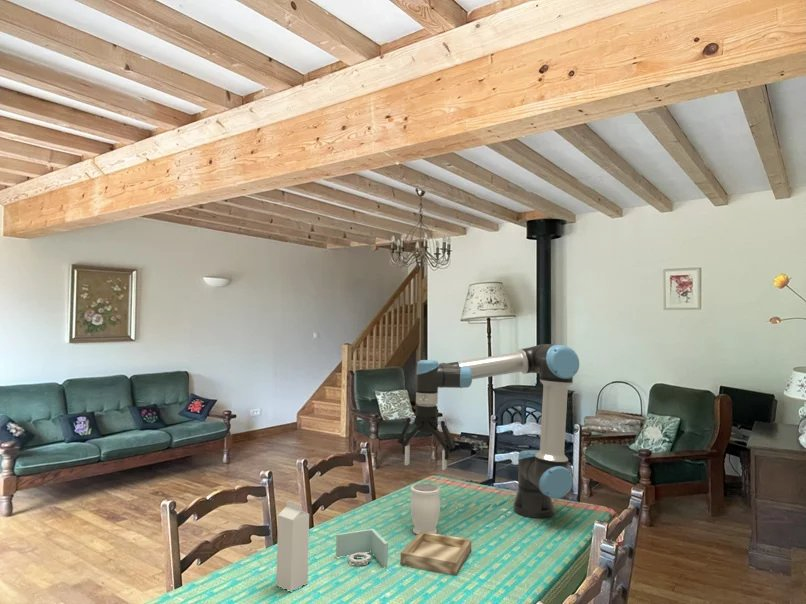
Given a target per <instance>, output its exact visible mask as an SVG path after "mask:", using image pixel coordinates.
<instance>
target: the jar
mask: <svg viewBox="0 0 806 604" xmlns="http://www.w3.org/2000/svg"><path fill="white" fill-rule="evenodd" d="M410 492H411V496H410V505H409V506H410V513H411V514H410V515H411V520H412V526H414V527H413V529H412V531H413V533H414V534H416V536H417V535H418V534H419V532H420V531H422V532H428V533H435V534H438V529H437V525H438V523H439V519H440V513H441V497H440V493H441V486H439V485H437V484H433V483H415V484H413V485H411V486H410Z"/></svg>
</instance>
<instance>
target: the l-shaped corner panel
mask: <svg viewBox="0 0 806 604" xmlns="http://www.w3.org/2000/svg"><path fill="white" fill-rule="evenodd" d="M335 542H336V543H335V546H336V547H335V550H336V551H335V557H336V556H337V557H340V556H347V555H349V556H348V557H347V562H348V561H349V562H350V563H351V564H354V565H362V566H364V565H365V566H367V565H369V564H368V562H370V563H371V561H372V556H371V554H372V553H373V554H374V556H375V557H376V558H377V559H378V560H379V561H378V560H377V559H376V558H375V557H374V556H373V557H374V558H375V559H376V560H377V561H378V563H379V562H380V563H381V564H382V565H383V566H382V565H381V564H380V563H379V564H380V565H381V566H382V567H383V568H384V567H386V568H388V561H389V560H388V552H389V551H388V549H389V548H388V547H389V544H388V541H386V540H385V539H384V538H383V537H382V535H381V534H380V533H379V532H378V531H377V530H375V528H368V529H360V530H357V531H356V530H354V531H348V532H341V533H336V541H335ZM370 551H371V552H372V553H371V554H369V553H365V552H370ZM357 557H364V558H365V559H358V558H357ZM354 558H357V559H354ZM350 563H349V564H350ZM354 565H353V566H354Z"/></svg>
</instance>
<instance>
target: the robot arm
mask: <svg viewBox="0 0 806 604" xmlns="http://www.w3.org/2000/svg"><path fill="white" fill-rule="evenodd" d="M579 369H580V359H579V356H578V354H577V353H576V352H575V350H574V349H572V348H571V347H569V346H567V345H563V344H550V343H544V344H543V343H542V344H537V345H534V346H530V347H525V348H519V349H518V351H516V352H510V353H504V354H498V355H491V356H485V357H479V358H472V359H465V360H460V361H453V362H447V363H446V362H440V363H439V361H437V360H434V359H433V360H432V359H431V360H430V359H421V360H419V361H417V365H416V373H415V374H416V388H415V389H416V393H415V395H416V396H415V403H416V405H415V417H412V416H409V417H407V418H406V423H405V426H404V428H403V429H402V431H401V433H400V435H399V437H398V439H397V443H398V444H400V445H401V446H402V455H404V466H408V465H409V464H410V457H411V456H410V452H411V451H410V450H411V448H410V447H411V444H409V443H410V441H412V439H413V438H414V437H415V436H416V435H417V434H418V432H421V433H424V432H425V433H432V435H434V436H435V438H436V439H437V441H438V442H439V444H440V445H441V446H442V447H443V450H442V452H441V454H442V457H441V458H442V460H441V462H442V463H441V470H442V471H445V470H446V469H447V462H448V460H449V459H450V450H453V449H454V448H455V447H456V444H455V443H454V440H453V437H452V435H451V433H450V430H449V428H448V426H447V419H442V420H439V419H438V403H439V402H438V401H439V400H438V399H439V397H438V394H439V388H440V389H441V388H443V389H444V388H450V389H451V388H453V389H454V388H455V389H463V388H464V389H465V388H469V387H471V385H472V382H473V380H477V379H484V378H488V377H489V378H490V377H496V376H501V375H508V374H515V373H522V374H539V381H540V383H541V384H542V387H543V388H542V389H543V390H542V405H541V407H542V408H541V423H540V425H541V426H540V439H539V440H540V442H539V450H537V449H532V450H531V449H528V450H521V451H519V453H518V459H517V462H518V465H517V467H518V469H517V470H518V471H517V472H518V473H517V475H518V478H517V479H518V480H517V482H518V489H517V493H516V495H515V499H514V502H513V511H514V512H515V513H516V514H518V515H521V516H523V517H526V516H527V517H526V518H532V517H533V519H534V518H535V519H536V518H537V519H543V518H550V517H553V515H554V514H555V507H554V504H553V500H552V499H560V498H563V497H565V496H566V495H567V494H568V493H569V492H570V491H571V489H573V483H574V478H573V474H572V473H571V471H570V470H569V458H568V457H567V456H566V455H565V454H566V453H565V442H566V427H567V422H566V421H567V411H568V409H567V408H568V407H567V406H568V403H567V402H568V390H569V389H568V388H569V387H570V386H571V385H572V384H573V381H574V380H573V379H574V377H575V375H576V374H577V373H578V371H579ZM413 424H415V426H416V427H414V429H413V430H412V432H411V433H409V435H408V436H407V434H408V432H409V430H410V428H411V426H412V425H413ZM437 426H439V427H440V428H441V430H442V433H443V435H444V436H443V435H442V434H441V432H440V431H439V429H438V427H437ZM406 436H407V437H406Z"/></svg>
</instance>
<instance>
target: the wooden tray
mask: <svg viewBox="0 0 806 604" xmlns="http://www.w3.org/2000/svg"><path fill="white" fill-rule="evenodd" d="M471 552H472V539H470V538H465V537H460V536H459V537H458V536H451V535H447V534H439V533H436V534H435V533H428V532H422V531H420V532H419V534H418V535H417V534H416V535H415V537H414V538H413V539H412V540H411V541H410V542H409V543H408V545H407V546H405V547H404V548H403V549H402V550H401V552H400V564H402V565H401V566H404V565H407V566H406V567H409V566H411V567H410V568H414V567H416V568H415V569H419V568H421V569H420V570H426V571H430V572H436V573H440V572H441V573H440V574H444V575H452V576H457V575H458V573H459V572H460V570H461V568H462V567H463V565H464V563H465V562H466V560H467V558H468V557H469V555H470V554H471Z"/></svg>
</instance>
